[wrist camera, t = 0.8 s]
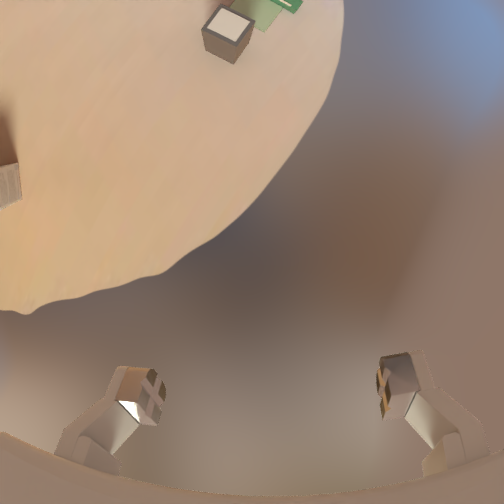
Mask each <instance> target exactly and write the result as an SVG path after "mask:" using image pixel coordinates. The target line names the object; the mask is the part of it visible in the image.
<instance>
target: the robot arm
mask: <svg viewBox="0 0 504 504" xmlns="http://www.w3.org/2000/svg"><path fill="white" fill-rule="evenodd" d="M379 366H380V368H379V369H378V370H377V374H376V386H377V393H378V395H379V396H380V397H381V398H382V399H381V402H380V410H381V415H382V420H390V419H396V418H402V417H405V419H406V420H407V421H408V422H409V423H410V424H411V426H412V427H413V428H414V429H415V430H416V431H417V432H418V434H420V436H421V437H422V438H423V439H424V440H425V441H426V442H427V444H428V445H429V446H430V447H431V448H432V449H433V450H432V451H431V452H430V453H429V454H428V456H427V457H426V458H425V459H424V460H423V461H422V468H423V475H424V477H422V478H418V479H414V480H410V481H405V482H401V483H396V484H391V485H386V486H381V487H375V488H369V489H363V490H356V491H348V492H341V493H331V494H319V495H302V496H246V495H229V494H217V493H207V492H199V491H191V490H184V489H178V488H171V487H166V486H161V485H156V484H150V483H146V482H141V481H137V480H133V479H129V478H125V477H121V476H119V471H120V468H121V464H122V463H121V461H120V460H118V459H117V458H116V457H114V456H113V454H114V452H115V451H116V450H117V449H118V448H119V447H120V446H121V445H122V444H123V443H124V441H125V440H126V439H127V438H128V437H129V436H130V435H131V434H132V433H133V432H134V430H135V429H136V428H137V427H138V426H139V424H145V425H156V426H158V423H159V419H160V416H161V409H160V406H161V405H162V404H163V403H164V401H165V398H166V388H165V384H164V383H163V381H162V380H161V379H159V378H157V372H156V371H155V370H154V369H151V368H136V367H124V366H119V367H118V368H117V369H116V370H115V373H114V375H113V377H112V380H111V382H110V385H109V387H108V389H107V392H106V394H105V397H104V399H100V400H99V401H97V402H96V403H95V404H94V405H92V406H91V407H90V408H89V409H88V410H87V411H85V412H84V413H83V414H82V415H80V416H79V417H78V418H77V419H76V420H74V421H73V422H72V423H71V424H70V425H68V426H67V427H66V428H65V429H64V430H63V433H62V435H61V438H60V440H59V443H58V445H57V448H56V450H55V453H54V454H51V453H49V452H47V451H44V450H42V449H40V448H37V447H35V446H33V445H31V444H28V443H26V442H24V441H22V440H20V439H18V438H16V437H14V436H12V435H10V434H8V433H6V432H0V504H504V449H502V450H500V451H497V452H495V453H493V454H490V451H489V447H488V444H487V440H486V436H485V433H484V429H483V426H482V423H481V422H480V421H479V420H477V418H475V417H474V416H473V415H472V414H471V413H470V412H468V411H467V410H466V409H465V408H464V407H462V406H461V405H460V404H459V403H457V402H456V401H455V400H454V399H453V398H451V397H450V396H449V395H448V394H447V393H445V392H444V391H443V390H442V389H441V388H439V387H436V388H435V386H434V382H433V379H432V376H431V373H430V370H429V367H428V364H427V361H426V358H425V355H424V352H423V351H422V350H417V351H412V352H404V353H399V354H394V355H389V356H382V357H380V360H379Z"/></svg>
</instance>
